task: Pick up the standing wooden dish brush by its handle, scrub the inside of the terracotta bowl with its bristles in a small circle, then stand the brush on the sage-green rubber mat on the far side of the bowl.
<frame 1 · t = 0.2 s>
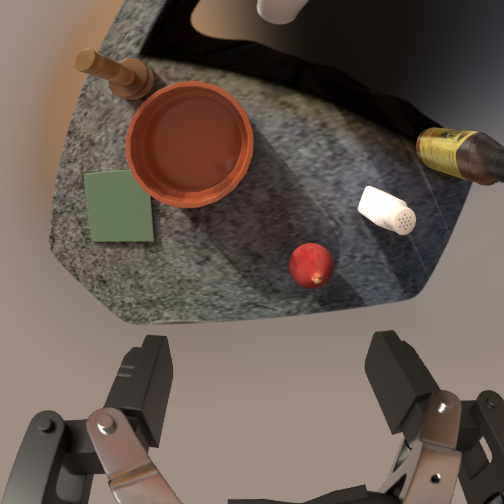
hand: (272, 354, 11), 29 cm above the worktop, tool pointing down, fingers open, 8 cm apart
mat: (118, 206, 37), on the worktop
onion: (305, 253, 41), on the worktop
pepper shaker: (371, 201, 38), on the worktop
drinking glass: (277, 10, 28), on the worktop
dish brush: (135, 81, 31), on the worktop
sauce bottle: (428, 147, 35), on the worktop
bowl: (194, 143, 35), on the worktop
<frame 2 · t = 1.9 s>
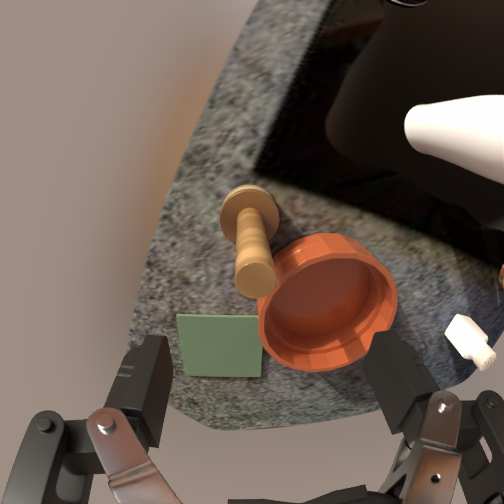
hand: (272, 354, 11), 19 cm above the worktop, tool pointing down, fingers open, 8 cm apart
mat: (221, 347, 35), on the worktop
pepper shaker: (455, 323, 36), on the worktop
drinking glass: (421, 129, 25), on the worktop
dish brush: (248, 210, 28), on the worktop
bowl: (319, 291, 32), on the worktop
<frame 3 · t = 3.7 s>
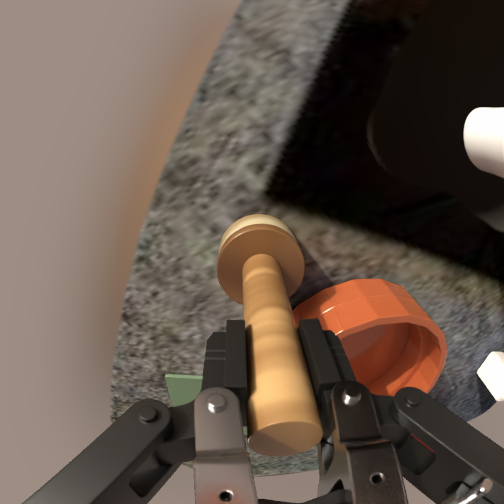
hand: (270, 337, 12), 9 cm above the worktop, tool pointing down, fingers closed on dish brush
mat: (223, 408, 26), on the worktop
pepper shaker: (488, 360, 28), on the worktop
drinking glass: (479, 138, 17), on the worktop
dish brush: (258, 251, 20), on the worktop, touching gripper
bowl: (346, 347, 24), on the worktop
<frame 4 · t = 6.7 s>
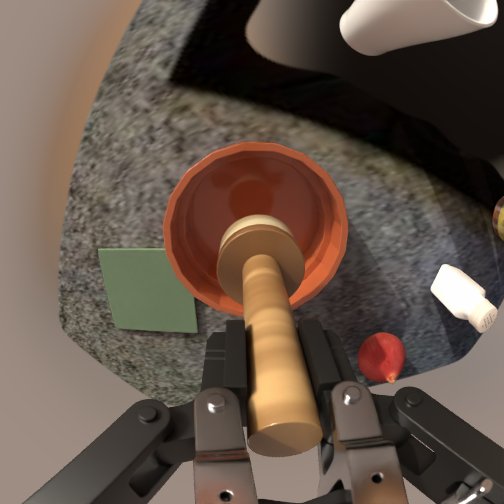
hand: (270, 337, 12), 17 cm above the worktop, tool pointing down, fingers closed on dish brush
mat: (148, 291, 30), on the worktop
onion: (370, 336, 34), on the worktop
pepper shaker: (443, 278, 31), on the worktop
drinking glass: (363, 33, 20), on the worktop
dish brush: (258, 251, 20), point 8 cm above the worktop, touching gripper
sauce bottle: (501, 214, 28), on the worktop
bowl: (254, 218, 27), on the worktop
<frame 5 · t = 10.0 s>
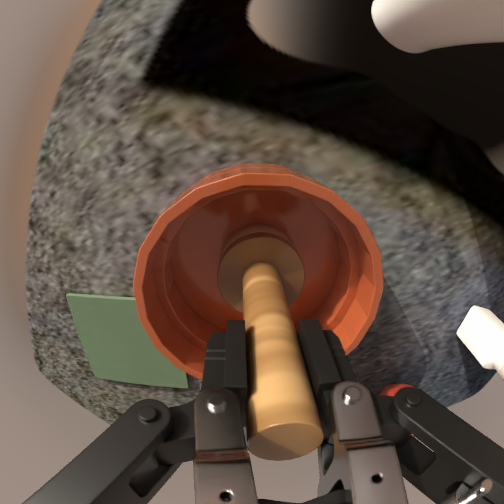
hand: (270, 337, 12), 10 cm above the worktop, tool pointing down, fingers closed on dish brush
mat: (128, 344, 24), on the worktop
onion: (386, 385, 28), on the worktop
pepper shaker: (470, 319, 25), on the worktop
drinking glass: (399, 24, 14), on the worktop
dish brush: (258, 260, 20), point 1 cm above the worktop, touching gripper
bowl: (256, 264, 21), on the worktop
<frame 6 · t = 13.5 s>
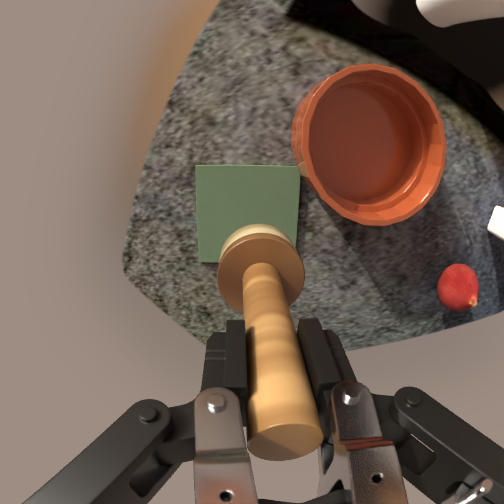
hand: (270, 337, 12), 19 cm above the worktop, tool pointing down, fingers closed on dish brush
mat: (247, 215, 29), on the worktop
onion: (442, 273, 33), on the worktop
pepper shaker: (495, 220, 30), on the worktop
drinking glass: (430, 10, 20), on the worktop
dish brush: (258, 260, 20), point 10 cm above the worktop, touching gripper
bowl: (359, 141, 27), on the worktop
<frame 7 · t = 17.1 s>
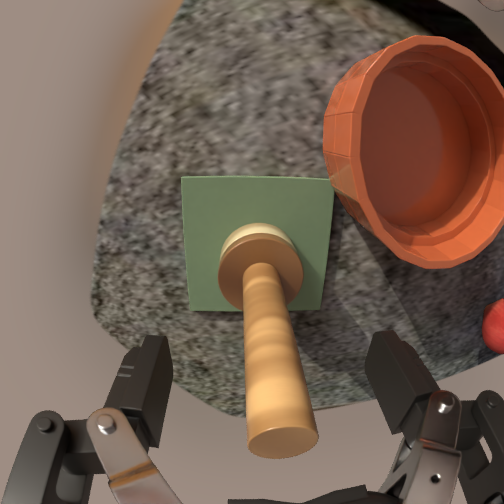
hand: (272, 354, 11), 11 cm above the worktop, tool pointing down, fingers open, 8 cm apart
mat: (257, 248, 21), on the worktop
onion: (485, 307, 24), on the worktop
dish brush: (258, 258, 20), resting on mat
bowl: (411, 146, 18), on the worktop
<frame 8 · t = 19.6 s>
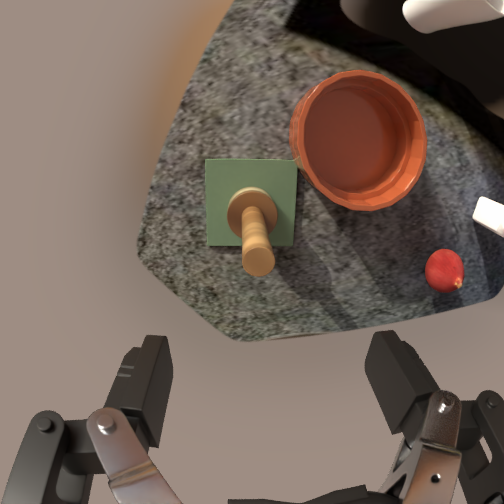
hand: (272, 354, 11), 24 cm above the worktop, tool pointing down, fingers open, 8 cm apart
mat: (250, 203, 33), on the worktop
onion: (430, 259, 37), on the worktop
pepper shaker: (480, 210, 34), on the worktop
drinking glass: (416, 17, 23), on the worktop
dish brush: (251, 209, 33), resting on mat
bowl: (349, 138, 30), on the worktop
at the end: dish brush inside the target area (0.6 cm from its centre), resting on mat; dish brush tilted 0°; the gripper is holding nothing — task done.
